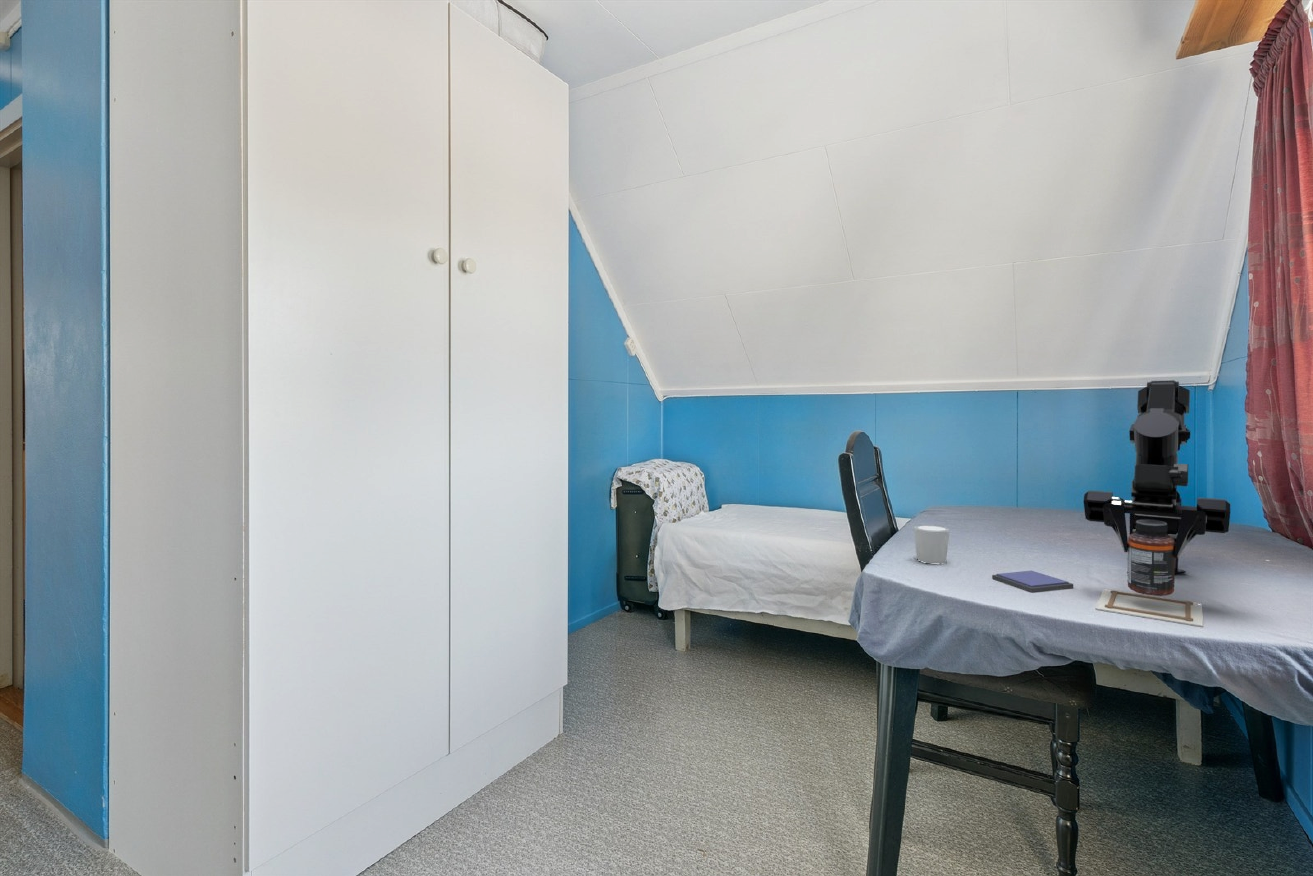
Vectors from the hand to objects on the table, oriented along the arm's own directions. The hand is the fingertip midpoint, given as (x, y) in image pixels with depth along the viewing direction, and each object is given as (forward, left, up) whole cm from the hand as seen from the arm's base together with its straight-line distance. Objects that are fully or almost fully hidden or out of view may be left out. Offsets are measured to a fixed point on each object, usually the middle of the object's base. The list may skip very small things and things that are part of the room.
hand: (1150, 553), depth 100 cm
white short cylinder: (+17, -34, -9) cm, 39 cm away
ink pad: (+8, -16, -9) cm, 20 cm away
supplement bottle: (-1, -1, -7) cm, 7 cm away
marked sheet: (-1, -1, -9) cm, 9 cm away
